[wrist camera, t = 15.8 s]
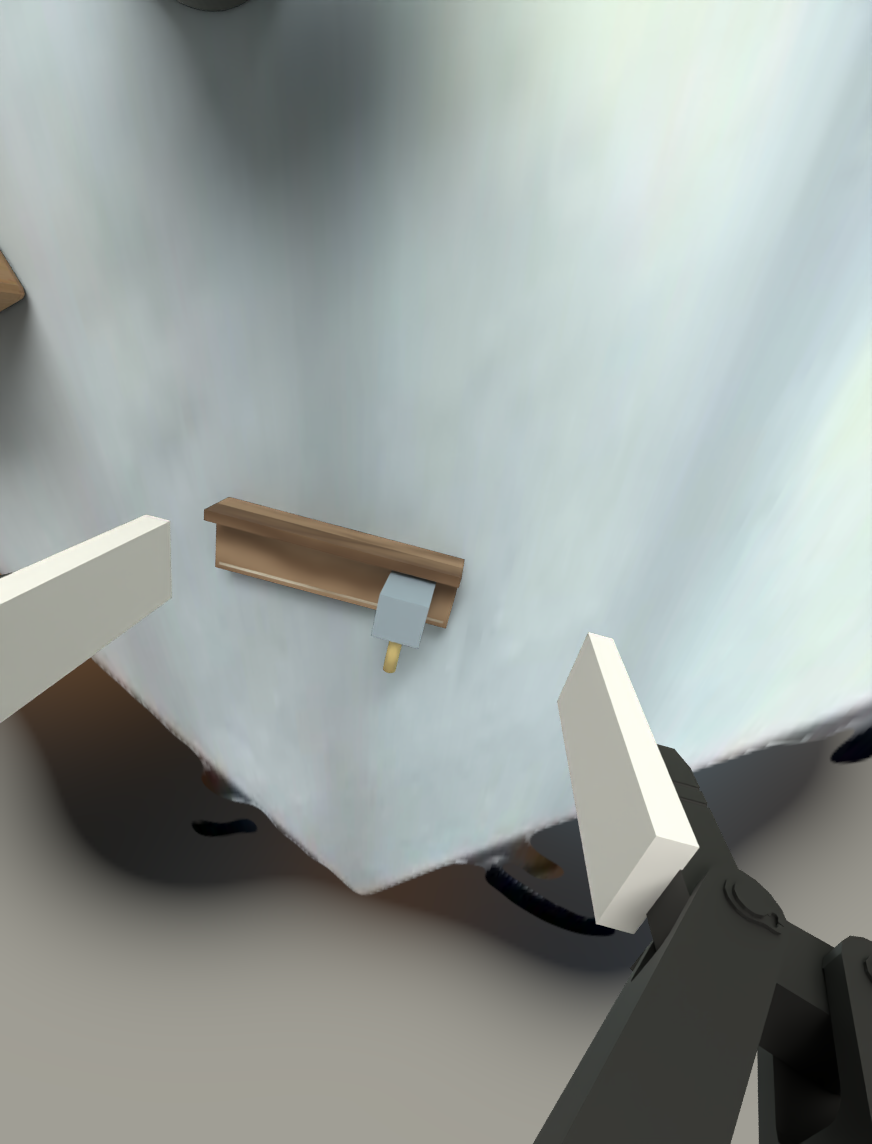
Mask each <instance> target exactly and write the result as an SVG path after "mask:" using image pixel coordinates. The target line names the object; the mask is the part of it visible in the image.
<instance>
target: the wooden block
mask: <svg viewBox="0 0 872 1144" xmlns="http://www.w3.org/2000/svg"><path fill="white" fill-rule="evenodd" d="M24 295H25V293H24V289H23V287H22V285H21V284H20V282H19V280H18V279H17V277H16V275H15V274H14V272H13V270H12V269H11V267H10V265H9V264H8V262H7V261H6V259H5V257H4V256H3V254H2V252H1V251H0V312H1V311H2V310H4V309H6V308H7V307H9V306H11V305H13V304H14V303H16V302H18V301H19V300H21V299H23V297H24Z"/></svg>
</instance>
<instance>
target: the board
mask: <svg viewBox="0 0 872 1144" xmlns="http://www.w3.org/2000/svg"><path fill="white" fill-rule="evenodd" d="M204 520H205V521H209V522H213V523H217V525H216V562H215V567H218V568H221V569H225V570H229V571H233V572H236V573H240V574H244V575H248V576H251V577H255V578H259V579H263V580H266V581H270V582H274V583H278V584H281V585H285V586H289V587H292V588H296V589H300V590H304V591H307V592H311V593H315V594H319V595H322V596H326V597H330V598H334V599H337V600H341V601H345V602H349V603H352V604H356V605H360V606H364V607H367V608H371V609H375V610H376V609H377V605H378V600H379V595H380V593H381V591H382V589H383V587H384V585H385V583H386V581H387V579H388V577H389V575H390V573H391V571H392V570H393V571H397V572H401V573H405V574H408V575H412V576H416V577H420V578H423V579H427V580H431V581H435V582H436V585H435V588H434V592H433V596H432V599H431V603H430V607H429V611H428V614H427V618H426V622H425V623H427V624H431V625H435V626H439V627H442V628H446V626H447V623H448V619H449V616H450V612H451V609H452V605H453V602H454V598H455V595H456V591H457V588H459V585H460V582H461V578H462V572H463V566H464V560H465V559H461V558H457V557H453V556H450V555H446V554H442V553H438V552H434V551H431V550H427V549H423V548H419V547H416V546H412V545H408V544H404V543H401V542H397V541H393V540H389V539H385V538H382V537H378V536H374V535H370V534H367V533H363V532H359V531H355V530H352V529H348V528H344V527H340V526H336V525H333V524H329V523H325V522H321V521H318V520H314V519H310V518H306V517H303V516H299V515H295V514H291V513H287V512H284V511H280V510H276V509H272V508H269V507H265V506H261V505H257V504H254V503H250V502H246V501H242V500H238V499H235V498H231V497H228V498H226V499H224V500H222V501H220V502H218V503H216V504H214V505H212V506H210V507H208V508H206V509H204Z"/></svg>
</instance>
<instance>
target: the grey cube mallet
mask: <svg viewBox="0 0 872 1144" xmlns="http://www.w3.org/2000/svg"><path fill="white" fill-rule="evenodd" d="M435 585H436V582H435V581H431V580H427V579H423V578H420V577H416V576H412V575H408V574H405V573H401V572H397V571H393V570H392V571H391V573H390V575H389V577H388V579H387V581H386V583H385V585H384V587H383V589H382V591H381V593H380V595H379V600H378V605H377V609H376V614H375V619H374V624H373V628H372V633H371V636H373V637H377V638H380V639H384V640H388V641H389V645H388V649H387V653H386V657H385V662H384V666H383V670H384V671H385V672H387V673H394V672H395V670H396V666H397V662H398V658H399V654H400V650H401V646H402V645H406V646H410V647H413V648H417V649H418V647H419V643H420V640H421V636H422V633H423V629H424V625H425V622H426V618H427V614H428V611H429V607H430V603H431V599H432V596H433V592H434V588H435Z"/></svg>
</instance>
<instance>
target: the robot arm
mask: <svg viewBox="0 0 872 1144" xmlns="http://www.w3.org/2000/svg"><path fill="white" fill-rule="evenodd" d="M177 1H179V2H181V3H183V4H185V5H187V6H190V7H193V8H196V9H200V10H207V11H219V10H226V9H230V8H233V7H236V6H238V5H240V4H242V3H244V2H246V1H247V0H177ZM171 598H172V591H171V538H170V521H169V520H165V519H161V518H157V517H154V516H150V515H144V516H141V517H139V518H137V519H135V520H132V521H130V522H128V523H126V524H123V525H121V526H119V527H116V528H114V529H112V530H110V531H107V532H105V533H103V534H100V535H98V536H96V537H94V538H91V539H89V540H87V541H85V542H82V543H80V544H78V545H75V546H73V547H71V548H69V549H66V550H64V551H62V552H59V553H57V554H55V555H53V556H50V557H48V558H46V559H44V560H41V561H39V562H37V563H34V564H32V565H30V566H28V567H25V568H23V569H21V570H18V571H16V572H14V573H8V574H4V575H0V723H1V722H2V721H4V720H5V719H6V718H8V717H9V716H11V715H12V714H13V713H14V712H16V711H17V710H19V709H20V708H21V707H23V706H24V705H26V704H27V703H28V702H30V701H31V700H32V699H34V698H35V697H37V696H38V695H39V694H41V693H42V692H43V691H45V690H46V689H47V688H49V687H50V686H52V685H53V684H54V683H56V682H57V681H58V680H60V679H61V678H63V677H64V676H65V675H67V674H68V673H69V672H71V671H72V670H74V669H75V668H76V667H78V666H79V665H80V664H82V663H83V662H84V661H86V660H87V659H89V658H90V657H91V656H93V655H94V654H95V653H97V652H98V651H100V650H101V649H102V648H104V647H105V646H106V645H108V644H109V643H111V642H112V641H113V640H115V639H116V638H117V637H119V636H120V635H122V634H123V633H124V632H126V631H127V630H128V629H130V628H131V627H132V626H134V625H135V624H137V623H138V622H139V621H141V620H142V619H143V618H145V617H146V616H148V615H149V614H150V613H152V612H153V611H154V610H156V609H157V608H159V607H160V606H161V605H163V604H164V603H165V602H167V601H168V600H169V599H171ZM557 703H558V709H559V715H560V720H561V726H562V732H563V737H564V743H565V749H566V754H567V760H568V766H569V772H570V777H571V783H572V789H573V794H574V800H575V806H576V811H577V817H578V823H579V828H580V834H581V840H582V846H583V851H584V857H585V862H586V868H587V874H588V880H589V885H590V891H591V897H592V903H593V908H594V914H595V920H596V924H599V925H603V926H606V927H610V928H614V929H617V930H621V931H625V932H628V933H632V934H634V933H635V932H636V930H637V929H638V928H639V926H640V925H641V924H642V922H643V921H644V920H645V919H646V917H647V918H648V923H649V926H650V930H651V934H652V937H653V941H652V942H651V943H650V944H649V945H648V947H647V948H646V949H645V950H644V952H643V953H642V954H641V955H640V957H639V958H638V959H637V960H636V962H635V963H634V964H633V965H632V967H631V968H630V969H631V970H632V971H633V972H632V974H631V976H630V977H629V979H628V981H627V983H626V984H625V986H624V988H623V989H622V991H621V993H620V995H619V997H618V998H617V1000H616V1001H615V1003H614V1005H613V1007H612V1008H611V1010H610V1012H609V1013H608V1015H607V1017H606V1019H605V1020H604V1022H603V1024H602V1026H601V1027H600V1029H599V1031H598V1032H597V1034H596V1036H595V1038H594V1039H593V1041H592V1043H591V1044H590V1047H589V1048H588V1050H587V1051H586V1053H585V1055H584V1057H583V1058H582V1060H581V1062H580V1064H579V1065H578V1067H577V1069H576V1070H575V1072H574V1074H573V1076H572V1077H571V1079H570V1081H569V1083H568V1084H567V1086H566V1088H565V1090H564V1091H563V1093H562V1094H561V1096H560V1098H559V1100H558V1101H557V1103H556V1105H555V1107H554V1108H553V1110H552V1112H551V1113H550V1115H549V1117H548V1119H547V1120H546V1122H545V1124H544V1126H543V1128H542V1129H541V1131H540V1132H539V1134H538V1136H537V1138H536V1139H535V1141H534V1143H533V1144H730V1143H731V1140H732V1136H733V1133H734V1129H735V1126H736V1122H737V1119H738V1115H739V1112H740V1108H741V1105H742V1101H743V1097H744V1094H745V1091H746V1087H747V1084H748V1080H749V1077H750V1073H751V1070H752V1066H753V1063H754V1059H755V1056H756V1052H757V1051H758V1112H759V1113H758V1114H759V1144H872V941H869V940H867V939H865V938H863V937H856V936H849V937H848V938H846V939H844V940H843V941H842V942H841V943H839V944H838V945H837V946H836V947H835V948H834V947H832V946H830V945H829V944H827V943H825V942H823V941H821V940H820V939H818V938H816V937H814V936H813V935H811V934H809V933H807V932H805V931H803V930H802V929H800V928H798V927H797V926H795V925H793V924H791V923H790V922H788V921H787V920H786V918H785V916H784V914H783V911H782V910H781V908H780V907H779V905H778V904H777V903H776V901H775V900H774V899H773V897H772V896H771V894H769V892H768V891H767V890H766V889H764V888H763V887H762V886H761V885H760V884H759V883H758V882H757V881H756V880H755V879H753V878H751V877H750V876H749V875H747V874H746V873H744V872H743V871H741V870H739V869H738V867H737V865H736V863H735V861H734V859H733V857H732V855H731V853H730V850H729V848H728V846H727V844H726V842H725V840H724V838H723V836H722V834H721V832H720V829H719V827H718V825H717V823H716V821H715V819H714V817H713V815H712V812H711V810H710V809H709V808H707V802H706V800H705V798H704V796H703V793H702V792H701V791H699V788H700V787H699V785H698V783H697V781H696V779H695V777H694V775H693V772H692V770H691V768H690V767H689V766H688V765H687V763H686V762H685V761H684V760H683V759H682V757H681V756H680V755H679V754H678V753H677V752H676V750H675V749H673V748H669V747H665V746H662V745H658V744H656V742H655V739H654V737H653V734H652V732H651V730H650V727H649V725H648V722H647V720H646V717H645V715H644V713H643V710H642V708H641V705H640V703H639V701H638V698H637V696H636V693H635V691H634V689H633V686H632V684H631V681H630V679H629V676H628V674H627V672H626V669H625V667H624V664H623V662H622V660H621V657H620V655H619V652H618V650H617V648H616V645H615V643H614V640H613V639H612V638H608V637H604V636H600V635H597V634H593V633H589V632H588V634H587V636H586V638H585V641H584V643H583V645H582V647H581V649H580V652H579V654H578V656H577V658H576V661H575V663H574V665H573V667H572V669H571V672H570V674H569V676H568V678H567V681H566V683H565V685H564V687H563V689H562V692H561V694H560V696H559V698H558V701H557Z"/></svg>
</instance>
